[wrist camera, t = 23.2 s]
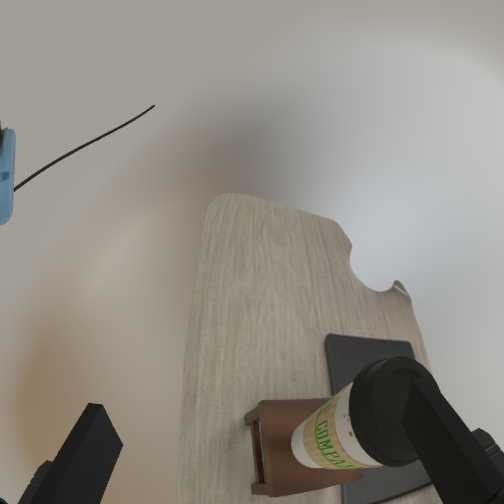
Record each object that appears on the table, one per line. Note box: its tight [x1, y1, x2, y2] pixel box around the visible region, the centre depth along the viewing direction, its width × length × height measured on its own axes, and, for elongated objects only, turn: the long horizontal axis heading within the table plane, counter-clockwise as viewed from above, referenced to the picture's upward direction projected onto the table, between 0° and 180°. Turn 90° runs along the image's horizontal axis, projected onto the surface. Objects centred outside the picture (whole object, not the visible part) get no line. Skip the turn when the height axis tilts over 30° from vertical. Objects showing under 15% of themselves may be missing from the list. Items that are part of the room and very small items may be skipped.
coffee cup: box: [291, 357, 441, 469], centre depth 23 cm, size 10×10×15 cm
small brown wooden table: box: [245, 397, 362, 497], centre depth 31 cm, size 12×12×7 cm
